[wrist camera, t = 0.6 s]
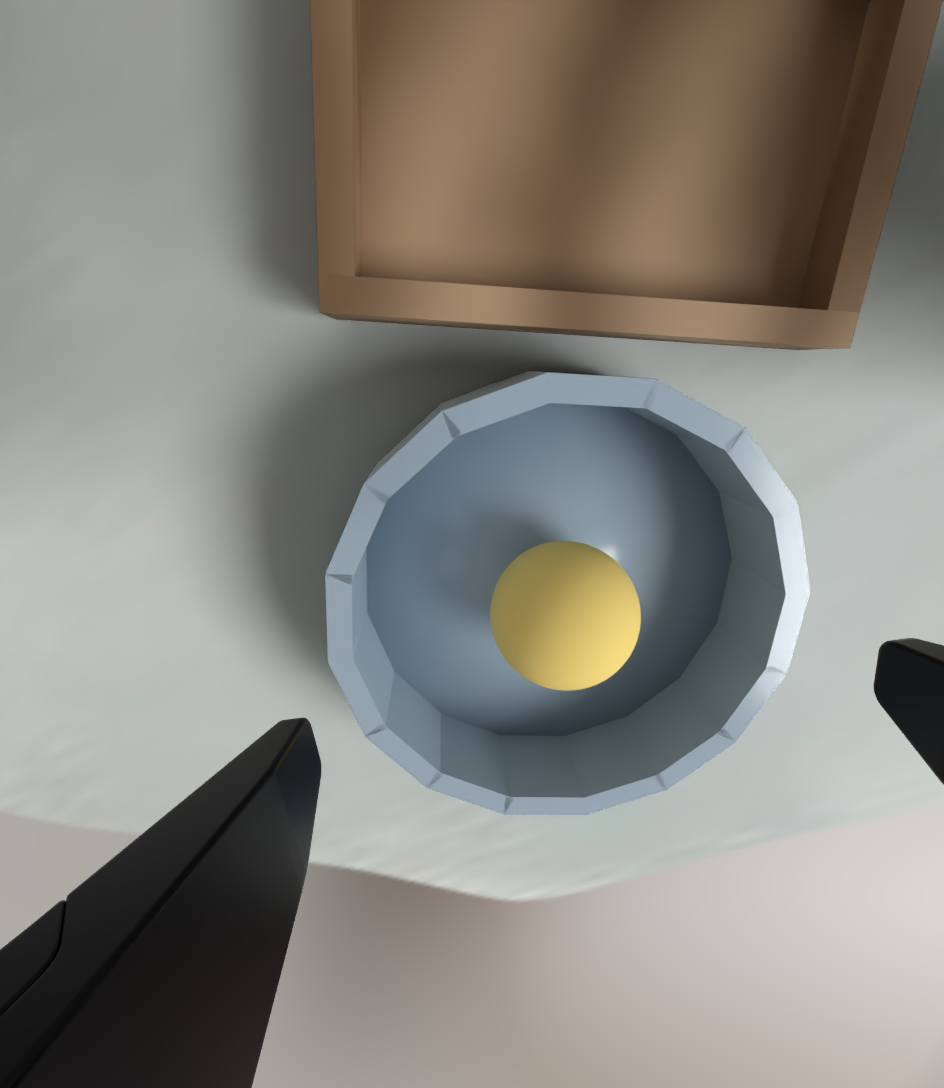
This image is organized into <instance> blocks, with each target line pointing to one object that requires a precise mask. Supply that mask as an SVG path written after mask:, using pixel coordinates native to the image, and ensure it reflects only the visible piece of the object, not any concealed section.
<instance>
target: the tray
mask: <svg viewBox="0 0 944 1088" xmlns="http://www.w3.org/2000/svg"><path fill="white" fill-rule="evenodd" d="M942 2H943V0H310V18H311V51H312V84H313V117H314V150H315V182H316V215H317V248H318V281H319V312H320V313H322V314H325V315H327V316H330V317H332V318H334V319H341V320H356V321H371V322H386V323H401V324H416V325H431V326H446V327H462V328H477V329H492V330H507V331H522V332H537V333H552V334H567V335H582V336H597V337H613V338H628V339H643V340H658V341H673V342H688V343H703V344H718V345H733V346H748V347H763V348H779V349H794V350H807V349H833V348H850V346H851V342H852V338H853V335H854V331H855V327H856V323H857V320H858V316H859V312H860V308H861V305H862V301H863V297H864V294H865V290H866V286H867V282H868V279H869V275H870V271H871V267H872V264H873V260H874V256H875V252H876V249H877V245H878V241H879V237H880V234H881V230H882V226H883V222H884V219H885V215H886V211H887V208H888V204H889V200H890V196H891V193H892V189H893V185H894V181H895V178H896V174H897V170H898V166H899V163H900V159H901V155H902V151H903V148H904V144H905V140H906V136H907V133H908V129H909V125H910V122H911V118H912V114H913V110H914V107H915V103H916V99H917V95H918V92H919V88H920V84H921V80H922V77H923V73H924V69H925V65H926V62H927V58H928V54H929V50H930V47H931V43H932V39H933V36H934V32H935V28H936V24H937V21H938V17H939V13H940V9H941V6H942Z"/></svg>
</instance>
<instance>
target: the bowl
mask: <svg viewBox="0 0 944 1088" xmlns="http://www.w3.org/2000/svg"><path fill="white" fill-rule="evenodd" d="M554 541H574V542H580V543H584V544H587V545H590V546H593V547H595V548H597V549H599V550H601V551H603V552H605V553H606V554H608V555H609V556H610V557H612V558H613V559H614V560H615V561H616V562H617V563H618V564H619V565H620V566H621V567H622V568H623V569H624V570H625V572H626V573H627V575H628V576H629V578H630V579H631V581H632V583H633V585H634V587H635V590H636V593H637V595H638V599H639V603H640V611H641V625H640V631H639V635H638V639H637V642H636V645H635V647H634V650H633V651H632V653H631V655H630V657H629V658H628V659H627V661H626V662H625V664H624V665H623V666H622V667H621V668H620V669H619V670H618V671H617V672H616V673H615V674H613V675H612V676H611V677H609V678H608V679H606V680H605V681H603V682H601V683H599V684H597V685H594V686H592V687H588V688H585V689H579V690H555V689H550V688H546V687H543V686H540V685H538V684H536V683H534V682H531V681H529V680H528V679H526V678H525V677H523V676H522V675H520V674H519V673H518V672H517V671H516V670H515V669H513V668H512V667H511V665H510V664H509V663H508V662H507V661H506V659H505V658H504V656H503V655H502V653H501V652H500V650H499V648H498V646H497V644H496V642H495V639H494V635H493V632H492V628H491V621H490V607H491V600H492V596H493V593H494V589H495V586H496V584H497V582H498V580H499V578H500V576H501V575H502V573H503V572H504V571H505V569H506V568H507V567H508V566H509V564H510V563H511V562H512V561H513V560H515V559H516V558H517V557H518V556H519V555H521V554H522V553H523V552H525V551H527V550H529V549H531V548H533V547H535V546H538V545H540V544H544V543H548V542H554ZM325 588H326V619H327V650H328V664H329V666H330V668H331V670H332V672H333V674H334V676H335V678H336V680H337V682H338V684H339V685H340V687H341V689H342V691H343V693H344V695H345V697H346V699H347V701H348V703H349V705H350V707H351V709H352V711H353V713H354V715H355V717H356V719H357V721H358V723H359V725H360V727H361V729H362V731H363V733H364V735H365V737H366V738H368V739H369V740H370V741H371V742H372V743H374V744H375V745H376V746H377V747H378V748H380V749H381V750H382V751H383V752H384V753H386V754H387V755H388V756H389V757H390V758H392V759H393V760H394V761H395V762H396V763H398V764H399V765H400V766H401V767H402V768H404V769H405V770H406V771H407V772H408V773H410V774H411V775H412V776H413V777H414V778H416V779H417V780H418V781H419V782H420V783H422V784H423V785H424V786H425V787H426V788H429V789H432V790H434V791H437V792H440V793H443V794H446V795H449V796H452V797H455V798H458V799H461V800H464V801H467V802H469V803H472V804H475V805H478V806H481V807H484V808H487V809H490V810H493V811H496V812H499V813H502V814H535V815H587V814H590V813H593V812H597V811H600V810H603V809H606V808H609V807H613V806H616V805H619V804H622V803H626V802H629V801H632V800H635V799H639V798H642V797H645V796H648V795H651V794H655V793H658V792H661V791H664V790H667V789H669V788H670V787H671V786H673V785H674V784H676V783H677V782H679V781H680V780H682V779H683V778H684V777H686V776H687V775H689V774H690V773H692V772H693V771H695V770H696V769H697V768H699V767H700V766H702V765H703V764H705V763H706V762H708V761H709V760H711V759H712V758H713V757H715V756H716V755H718V754H719V753H721V752H722V751H724V750H725V749H726V748H728V747H729V746H731V745H732V744H734V743H735V742H736V741H737V740H738V738H739V737H740V736H741V734H742V733H743V732H744V730H745V729H746V728H747V726H748V725H749V724H750V722H751V721H752V720H753V718H754V717H755V716H756V714H757V713H758V712H759V710H760V709H761V708H762V706H763V705H764V704H765V702H766V701H767V700H768V698H769V697H770V696H771V694H772V693H773V692H774V690H775V689H776V688H777V686H778V685H779V684H780V682H781V681H782V680H783V678H784V677H785V676H786V674H787V672H788V669H789V665H790V662H791V658H792V655H793V651H794V648H795V644H796V641H797V637H798V634H799V630H800V627H801V623H802V620H803V616H804V613H805V609H806V606H807V602H808V599H809V595H810V591H811V590H810V583H809V576H808V569H807V562H806V555H805V548H804V541H803V534H802V527H801V520H800V513H799V507H798V503H797V501H796V500H795V498H794V497H793V496H792V494H791V493H790V491H789V490H788V488H787V487H786V485H785V484H784V483H783V481H782V480H781V478H780V477H779V475H778V474H777V472H776V471H775V470H774V468H773V467H772V465H771V464H770V462H769V461H768V459H767V458H766V457H765V455H764V454H763V452H762V451H761V449H760V448H759V446H758V445H757V444H756V442H755V441H754V439H753V438H752V436H751V435H750V433H749V432H748V431H747V429H746V428H745V427H743V426H741V425H739V424H738V423H736V422H734V421H732V420H730V419H728V418H727V417H725V416H723V415H721V414H719V413H717V412H716V411H714V410H712V409H710V408H708V407H706V406H705V405H703V404H701V403H699V402H697V401H695V400H694V399H692V398H690V397H688V396H686V395H684V394H683V393H681V392H679V391H677V390H675V389H673V388H672V387H670V386H668V385H666V384H664V383H662V382H660V381H659V380H657V379H647V378H634V377H620V376H603V375H587V374H571V373H554V372H538V371H527V372H525V373H522V374H519V375H516V376H514V377H511V378H508V379H505V380H503V381H500V382H496V383H493V384H489V385H486V386H483V387H481V388H478V389H476V390H474V391H472V392H469V393H467V394H464V395H461V396H459V397H456V398H453V399H450V400H448V401H445V402H442V403H441V404H440V405H439V406H438V407H437V408H436V409H435V410H433V411H432V412H431V413H430V414H429V415H428V416H427V417H426V418H425V419H424V420H423V421H422V422H421V423H420V424H418V425H417V426H416V427H415V428H414V429H412V430H411V431H410V432H409V433H408V434H407V435H406V436H405V437H404V438H403V439H402V440H401V441H400V442H399V443H398V444H397V445H396V446H395V447H394V448H393V449H392V450H391V451H390V452H389V453H388V454H386V455H385V456H384V457H383V458H382V459H381V460H380V461H379V462H378V463H377V464H376V466H375V467H374V469H373V470H372V472H371V473H370V475H369V476H368V478H367V479H366V481H365V482H364V484H363V487H362V489H361V491H360V494H359V496H358V498H357V501H356V503H355V505H354V508H353V510H352V512H351V515H350V517H349V519H348V522H347V524H346V526H345V529H344V531H343V533H342V536H341V538H340V540H339V543H338V545H337V547H336V550H335V552H334V555H333V557H332V559H331V562H330V564H329V566H328V569H327V571H326V573H325Z"/></svg>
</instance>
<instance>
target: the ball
mask: <svg viewBox="0 0 944 1088" xmlns="http://www.w3.org/2000/svg"><path fill="white" fill-rule="evenodd" d="M490 621H491V628H492V632H493V635H494V639H495V642H496V644H497V646H498V648H499V650H500V652H501V653H502V655H503V656H504V658H505V659H506V661H507V662H508V663H509V664H510V665H511V667H512V668H513V669H515V670H516V671H517V672H518V673H519V674H520V675H522V676H523V677H525V678H526V679H528V680H529V681H531V682H534V683H536V684H538V685H540V686H543V687H546V688H550V689H555V690H579V689H585V688H588V687H592V686H594V685H597V684H599V683H601V682H603V681H605V680H606V679H608V678H609V677H611V676H612V675H613V674H615V673H616V672H617V671H618V670H619V669H620V668H621V667H622V666H623V665H624V664H625V662H626V661H627V659H628V658H629V657H630V655H631V653H632V651H633V650H634V647H635V645H636V642H637V639H638V635H639V631H640V625H641V611H640V603H639V599H638V595H637V593H636V590H635V587H634V585H633V583H632V581H631V579H630V578H629V576H628V575H627V573H626V572H625V570H624V569H623V568H622V567H621V566H620V565H619V564H618V563H617V562H616V561H615V560H614V559H613V558H612V557H610V556H609V555H608V554H606V553H605V552H603V551H601V550H599V549H597V548H595V547H593V546H590V545H587V544H584V543H580V542H574V541H554V542H548V543H544V544H540V545H538V546H535V547H533V548H531V549H529V550H527V551H525V552H523V553H522V554H521V555H519V556H518V557H517V558H516V559H515V560H513V561H512V562H511V563H510V564H509V566H508V567H507V568H506V569H505V571H504V572H503V573H502V575H501V576H500V578H499V580H498V582H497V584H496V586H495V589H494V593H493V596H492V600H491V607H490Z"/></svg>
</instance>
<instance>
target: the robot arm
mask: <svg viewBox="0 0 944 1088" xmlns="http://www.w3.org/2000/svg"><path fill="white" fill-rule="evenodd" d="M874 692H875V695H876V698H877V700H878V702H879V703H880V705H881V706H882V707H883V709H884V710H885V711H886V712H887V714H888V715H889V716H890V717H891V719H892V720H893V721H894V723H895V724H896V725H897V726H898V728H899V729H900V730H901V731H902V733H903V734H904V735H905V737H906V738H907V739H908V740H909V742H910V743H911V744H912V745H913V747H914V748H915V749H916V751H917V752H918V753H919V754H920V756H921V757H922V758H923V759H924V761H925V762H926V763H927V765H928V766H929V767H930V768H931V770H932V771H933V772H934V773H935V775H936V776H937V777H938V778H939V780H940V781H941V782H942V783H943V784H944V646H943V645H939V644H935V643H931V642H927V641H923V640H920V639H915V638H906V639H899V640H892V641H886V642H885V643H883V644H882V645H881V647H880V649H879V653H878V660H877V667H876V674H875V681H874ZM320 779H321V760H320V756H319V753H318V749H317V745H316V742H315V738H314V734H313V731H312V727H311V724H310V722H309V721H308V720H307V719H306V718H296V719H289V720H282V721H280V722H278V723H277V724H276V725H275V726H273V727H272V728H271V729H270V730H268V731H267V732H266V733H265V734H264V735H262V736H261V737H260V738H259V739H258V740H256V741H255V742H254V743H253V744H251V745H250V746H249V747H248V748H247V749H245V750H244V751H243V752H242V753H240V754H239V755H238V756H237V757H236V758H234V759H233V760H232V761H231V762H229V763H228V764H227V765H226V766H225V767H223V768H222V769H221V770H220V771H219V772H217V773H216V774H215V775H214V776H212V777H211V778H210V779H209V780H208V781H206V782H205V783H204V784H203V785H201V786H200V787H199V788H198V789H197V790H195V791H194V792H193V793H192V794H190V795H189V796H188V797H187V798H186V799H184V800H183V801H182V802H181V803H179V804H178V805H177V806H176V807H175V808H173V809H172V810H171V811H170V812H168V813H167V814H166V815H165V816H164V817H162V818H161V819H160V820H159V821H158V822H156V823H155V824H154V825H153V826H151V827H150V828H149V829H148V830H147V831H145V832H144V833H143V834H142V835H140V836H139V837H138V838H137V839H136V840H134V841H133V842H132V843H131V844H129V845H128V846H127V847H126V848H125V849H123V850H122V851H121V852H120V853H119V854H117V855H116V856H115V857H114V858H113V859H111V860H110V861H109V862H108V863H106V864H105V865H104V866H103V867H101V868H100V869H99V870H98V871H97V872H95V873H94V874H93V875H92V876H90V877H89V878H88V879H87V880H86V881H84V882H83V883H82V884H81V885H79V886H78V887H77V888H76V889H75V890H73V891H72V892H71V893H70V894H69V895H68V896H67V899H66V901H64V900H62V901H60V902H58V903H57V904H56V905H55V906H54V907H52V908H51V909H50V910H49V911H48V912H46V913H45V914H44V915H43V916H42V917H40V918H39V919H38V920H37V921H36V922H34V923H33V924H32V925H31V926H29V927H28V928H27V929H26V930H24V931H23V932H22V933H21V934H20V935H18V936H17V937H16V938H14V939H13V940H12V941H11V942H9V943H8V944H7V945H6V946H5V947H3V948H2V949H1V950H0V1088H252V1084H253V1079H254V1076H255V1072H256V1068H257V1064H258V1060H259V1057H260V1053H261V1049H262V1045H263V1041H264V1037H265V1033H266V1029H267V1025H268V1022H269V1018H270V1014H271V1010H272V1006H273V1002H274V998H275V994H276V991H277V986H278V983H279V979H280V975H281V971H282V967H283V963H284V959H285V955H286V951H287V948H288V944H289V940H290V936H291V932H292V928H293V925H294V921H295V916H296V913H297V909H298V905H299V901H300V897H301V893H302V889H303V885H304V880H305V876H306V872H307V866H308V860H309V854H310V847H311V840H312V833H313V827H314V820H315V813H316V806H317V799H318V793H319V786H320Z"/></svg>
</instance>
